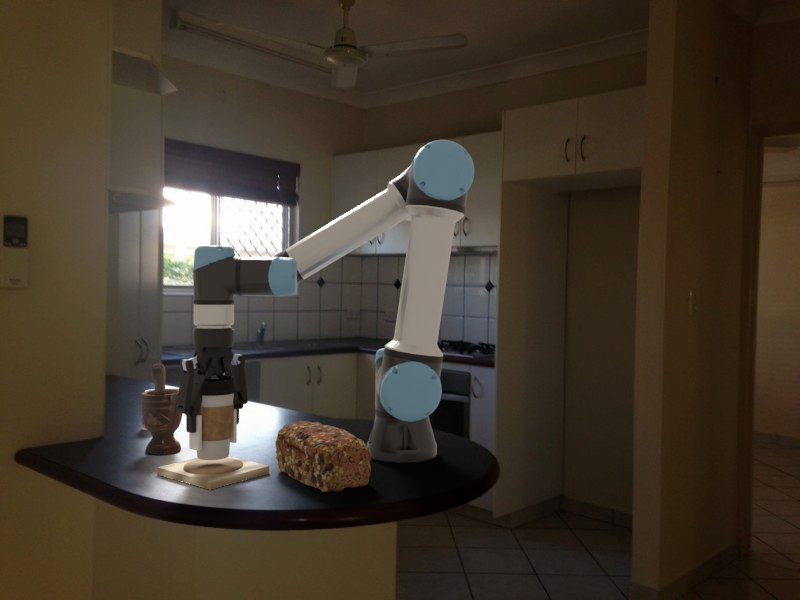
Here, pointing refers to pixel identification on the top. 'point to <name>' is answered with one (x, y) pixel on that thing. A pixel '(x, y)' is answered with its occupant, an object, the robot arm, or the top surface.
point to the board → (213, 471)
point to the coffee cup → (216, 418)
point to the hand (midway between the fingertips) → (213, 445)
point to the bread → (322, 456)
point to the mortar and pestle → (161, 414)
